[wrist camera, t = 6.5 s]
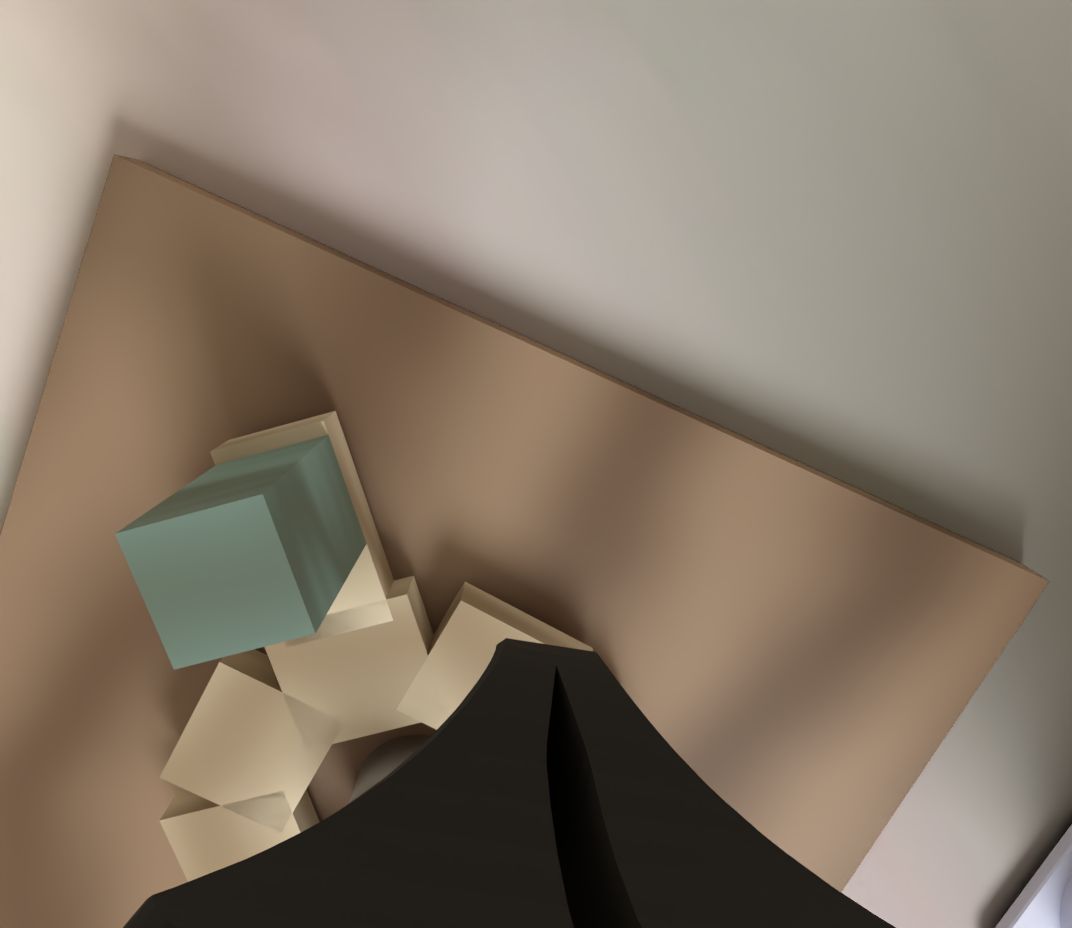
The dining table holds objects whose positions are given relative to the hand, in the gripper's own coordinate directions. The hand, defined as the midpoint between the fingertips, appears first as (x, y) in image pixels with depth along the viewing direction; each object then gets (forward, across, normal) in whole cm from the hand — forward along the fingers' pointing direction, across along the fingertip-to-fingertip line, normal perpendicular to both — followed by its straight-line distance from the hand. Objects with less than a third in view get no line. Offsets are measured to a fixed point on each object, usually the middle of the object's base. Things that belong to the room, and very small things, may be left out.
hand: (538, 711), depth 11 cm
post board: (+8, +2, +7) cm, 11 cm away
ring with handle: (+7, +3, +5) cm, 9 cm away
